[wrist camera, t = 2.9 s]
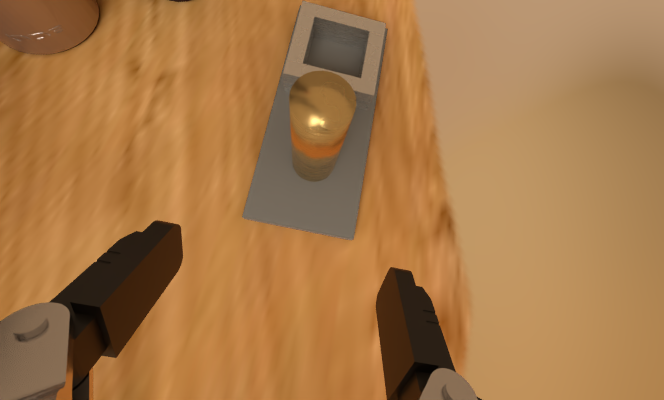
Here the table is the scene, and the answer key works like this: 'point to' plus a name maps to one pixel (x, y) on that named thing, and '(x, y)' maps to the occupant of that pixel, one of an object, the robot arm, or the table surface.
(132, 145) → the table surface
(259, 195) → the grey base plate
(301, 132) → the pin
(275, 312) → the table surface
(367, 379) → the table surface
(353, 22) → the collar
